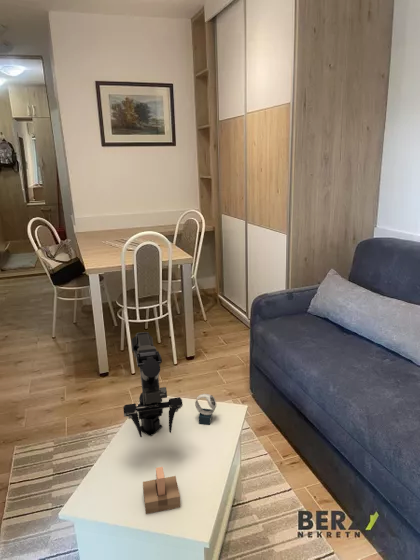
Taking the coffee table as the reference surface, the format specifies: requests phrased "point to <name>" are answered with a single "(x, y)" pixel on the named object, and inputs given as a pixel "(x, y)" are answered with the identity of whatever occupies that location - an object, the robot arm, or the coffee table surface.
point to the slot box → (161, 502)
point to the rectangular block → (160, 481)
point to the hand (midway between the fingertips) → (155, 434)
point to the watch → (206, 414)
